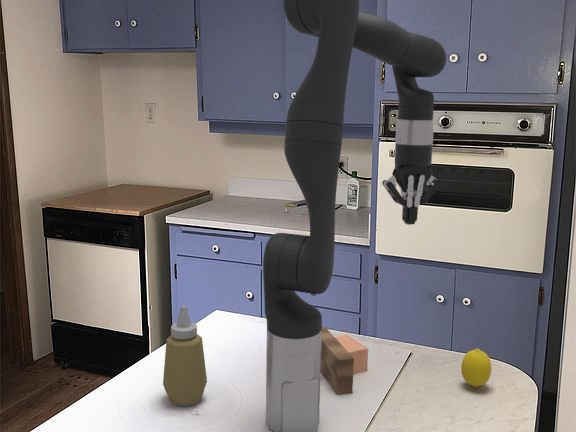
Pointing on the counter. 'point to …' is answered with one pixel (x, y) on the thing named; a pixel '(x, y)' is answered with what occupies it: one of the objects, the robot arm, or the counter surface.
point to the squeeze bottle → (184, 362)
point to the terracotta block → (355, 352)
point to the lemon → (476, 368)
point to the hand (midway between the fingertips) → (409, 223)
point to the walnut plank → (336, 363)
